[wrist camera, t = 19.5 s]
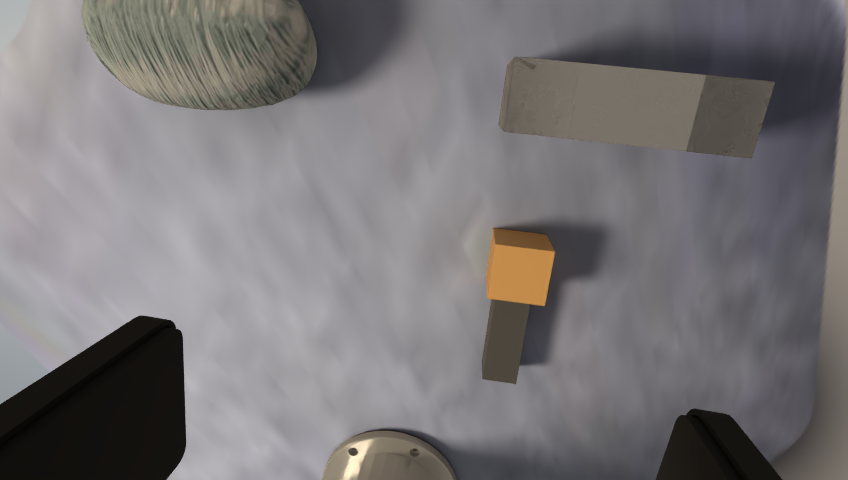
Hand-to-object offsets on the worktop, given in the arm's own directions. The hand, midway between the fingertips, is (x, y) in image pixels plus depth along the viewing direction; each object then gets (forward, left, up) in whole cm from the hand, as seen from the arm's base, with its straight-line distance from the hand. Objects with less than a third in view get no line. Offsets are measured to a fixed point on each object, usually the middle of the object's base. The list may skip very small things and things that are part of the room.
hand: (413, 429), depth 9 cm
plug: (-7, -8, -28) cm, 29 cm away
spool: (+2, +19, -28) cm, 34 cm away
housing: (+9, -6, -27) cm, 30 cm away
